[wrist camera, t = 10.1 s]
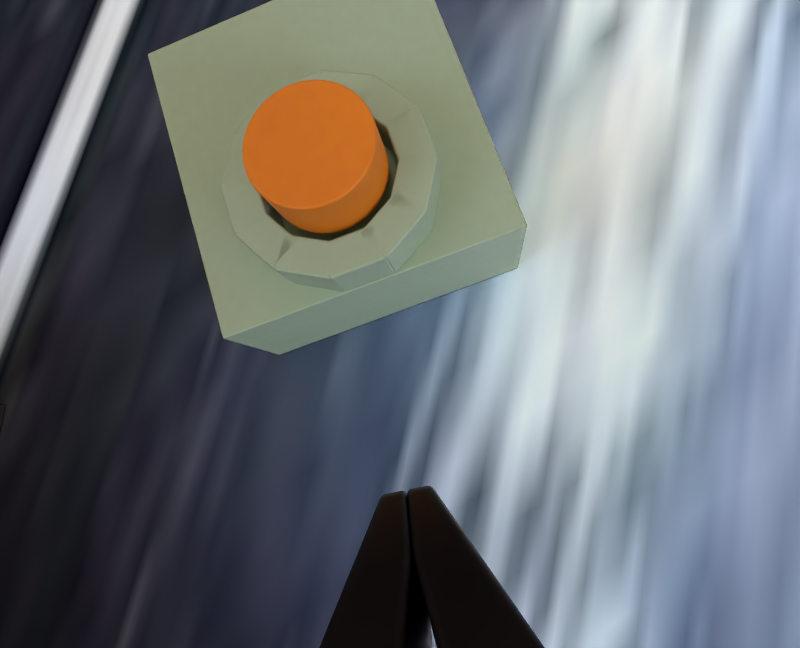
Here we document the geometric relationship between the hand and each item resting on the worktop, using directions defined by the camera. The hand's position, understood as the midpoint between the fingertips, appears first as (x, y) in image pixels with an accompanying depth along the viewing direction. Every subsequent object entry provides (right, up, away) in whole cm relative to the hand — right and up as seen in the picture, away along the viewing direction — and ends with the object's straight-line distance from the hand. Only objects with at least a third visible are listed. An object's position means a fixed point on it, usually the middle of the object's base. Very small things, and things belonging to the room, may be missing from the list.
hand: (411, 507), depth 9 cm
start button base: (-2, +9, +15) cm, 18 cm away
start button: (-2, +8, +9) cm, 12 cm away
